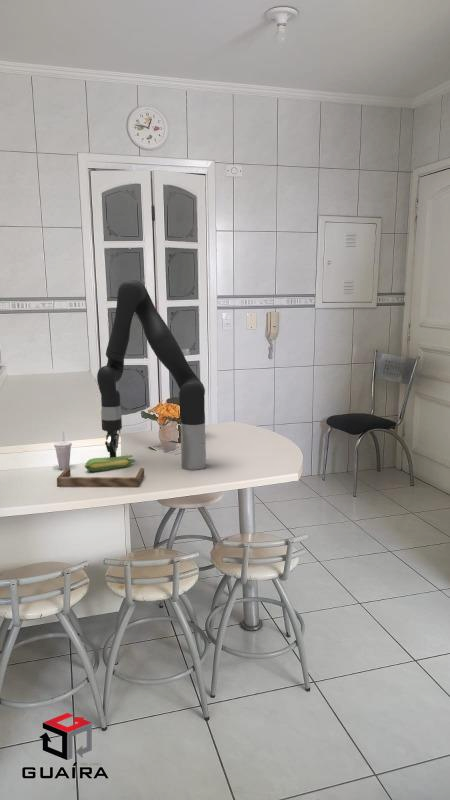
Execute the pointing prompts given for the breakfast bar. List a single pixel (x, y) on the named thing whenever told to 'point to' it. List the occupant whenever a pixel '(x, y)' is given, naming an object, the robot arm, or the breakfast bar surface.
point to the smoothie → (63, 453)
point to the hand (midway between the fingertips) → (113, 461)
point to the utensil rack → (98, 480)
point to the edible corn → (108, 463)
